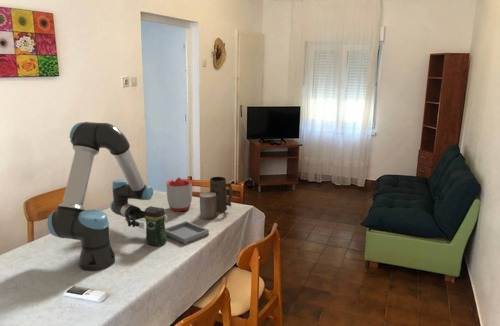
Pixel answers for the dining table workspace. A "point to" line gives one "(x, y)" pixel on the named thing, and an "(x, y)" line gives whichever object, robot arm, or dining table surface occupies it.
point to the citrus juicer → (179, 194)
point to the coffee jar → (155, 226)
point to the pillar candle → (208, 205)
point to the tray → (186, 232)
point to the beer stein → (221, 192)
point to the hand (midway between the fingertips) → (155, 222)
